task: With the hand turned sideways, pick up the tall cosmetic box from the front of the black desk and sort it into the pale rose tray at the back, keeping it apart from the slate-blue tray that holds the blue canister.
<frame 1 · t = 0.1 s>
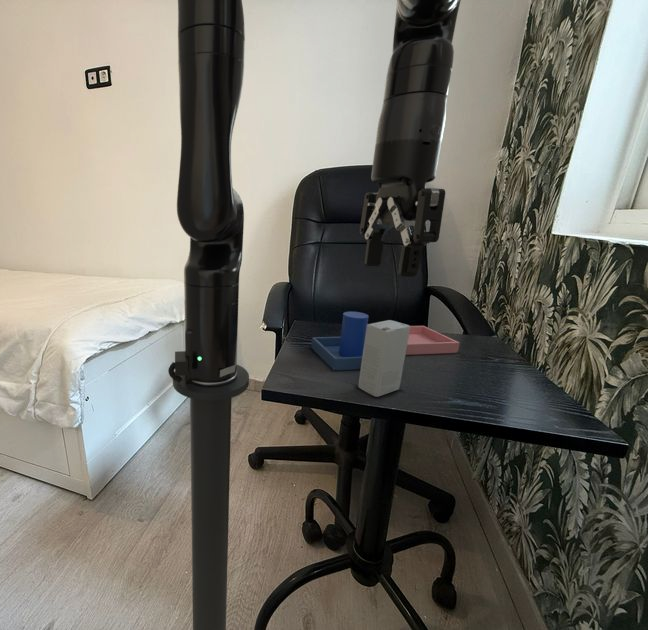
hand: (388, 270, 49), 22 cm above the table, tool pointing down, fingers open, 8 cm apart
cosmetic box: (378, 390, 63), on the table
rose tray: (413, 344, 85), on the table
blue canister: (350, 354, 77), resting on blue tray
blue tray: (350, 357, 77), on the table
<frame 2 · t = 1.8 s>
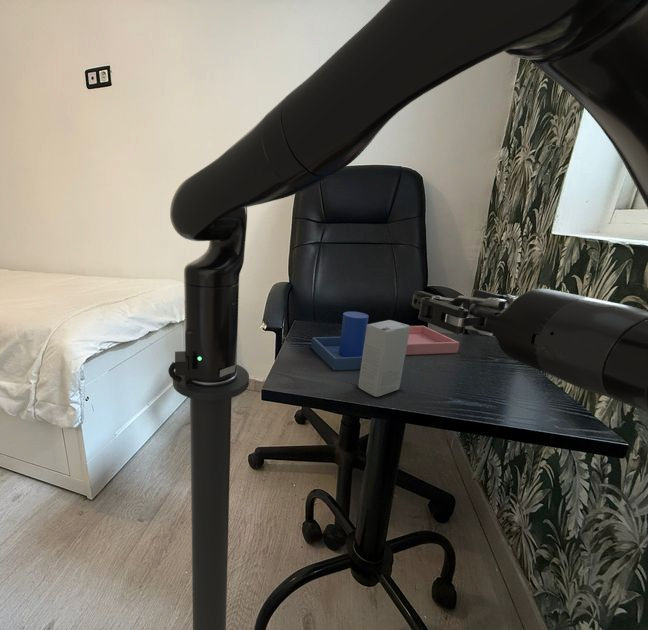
hand: (445, 298, 47), 19 cm above the table, tool horizontal, fingers open, 8 cm apart
nothing on the table moved.
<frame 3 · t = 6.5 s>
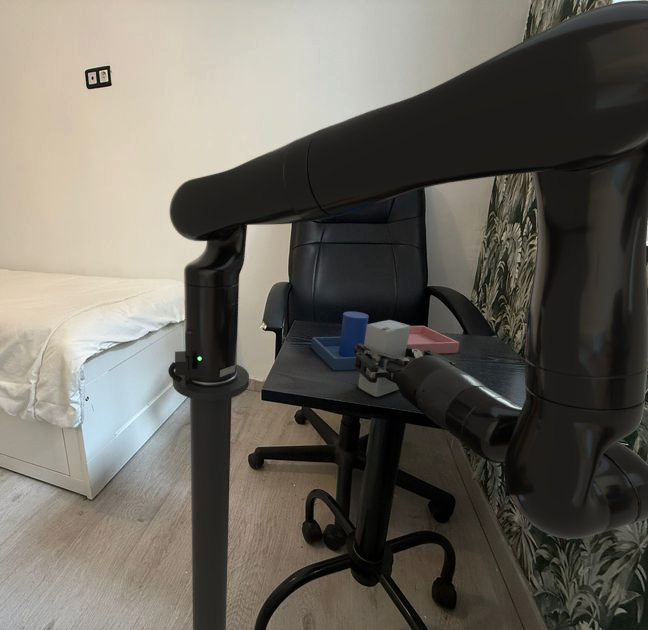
hand: (377, 348, 63), 7 cm above the table, tool horizontal, fingers closed on cosmetic box, 7 cm apart
cosmetic box: (378, 390, 63), on the table, touching gripper
everything else where it was.
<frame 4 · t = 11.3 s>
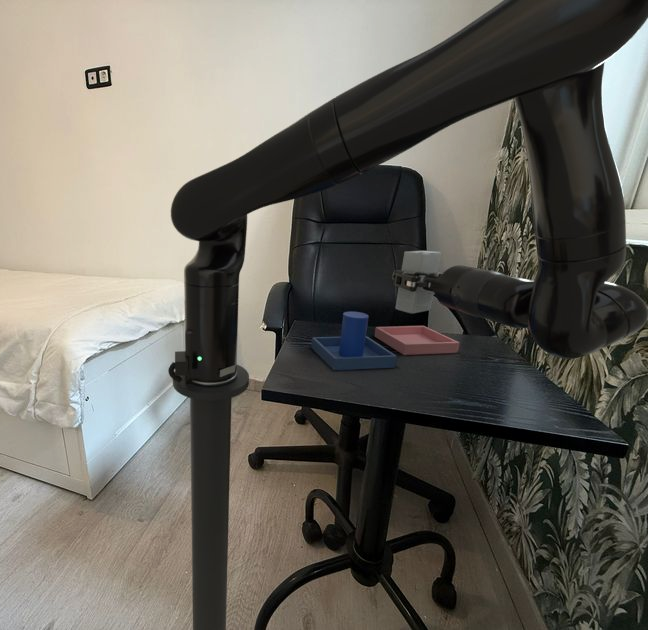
hand: (411, 275, 74), 18 cm above the table, tool horizontal, fingers closed on cosmetic box, 7 cm apart
cosmetic box: (412, 311, 74), point 10 cm above the table, touching gripper
everything else where it was.
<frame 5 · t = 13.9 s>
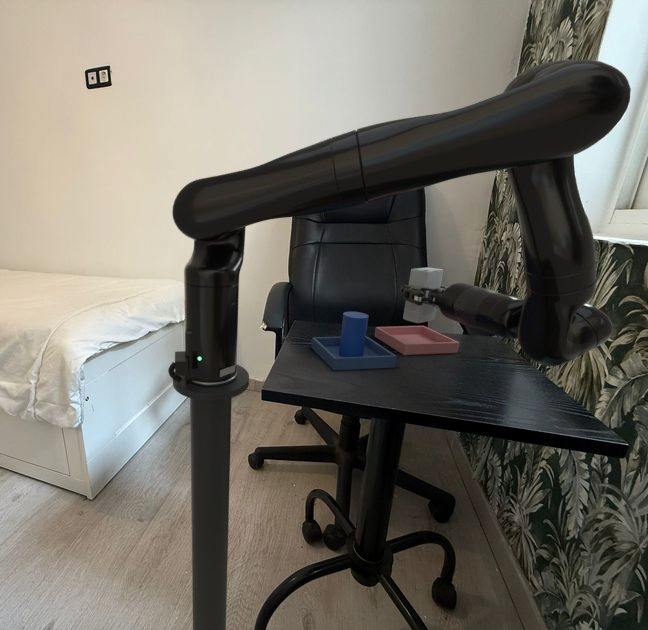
hand: (417, 289, 83), 13 cm above the table, tool horizontal, fingers closed on cosmetic box, 7 cm apart
cosmetic box: (418, 321, 83), point 6 cm above the table, touching gripper
everything else where it was.
when the fingers open (8 cm above the table, at t = 16.1 s): cosmetic box stays where it is, resting on rose tray.
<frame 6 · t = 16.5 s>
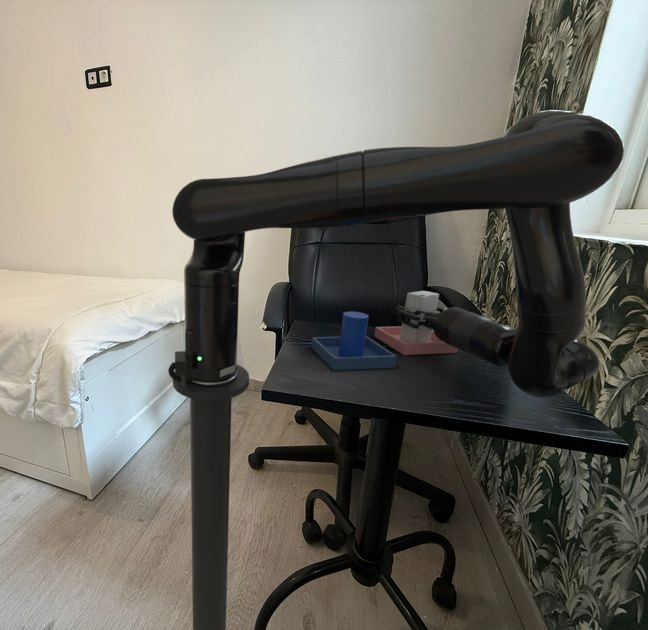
hand: (413, 309, 85), 8 cm above the table, tool horizontal, fingers open, 8 cm apart
cosmetic box: (414, 343, 85), resting on rose tray
everything else where it was.
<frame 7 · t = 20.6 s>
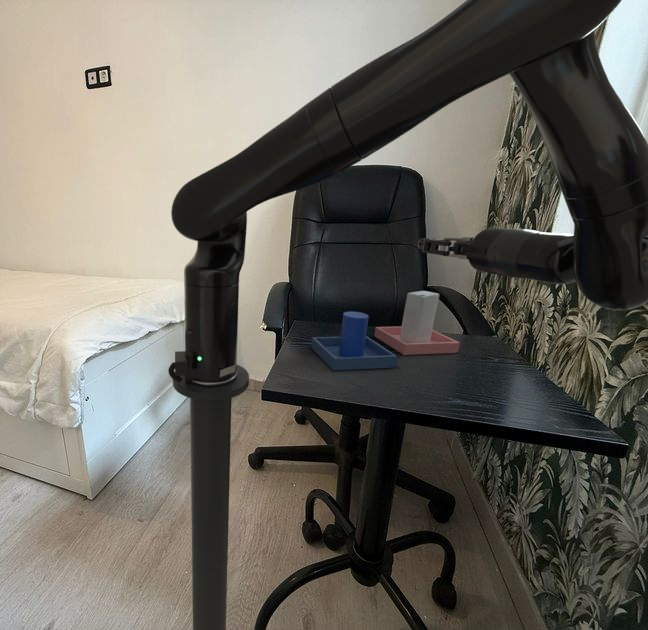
hand: (438, 243, 73), 24 cm above the table, tool horizontal, fingers open, 8 cm apart
nothing on the table moved.
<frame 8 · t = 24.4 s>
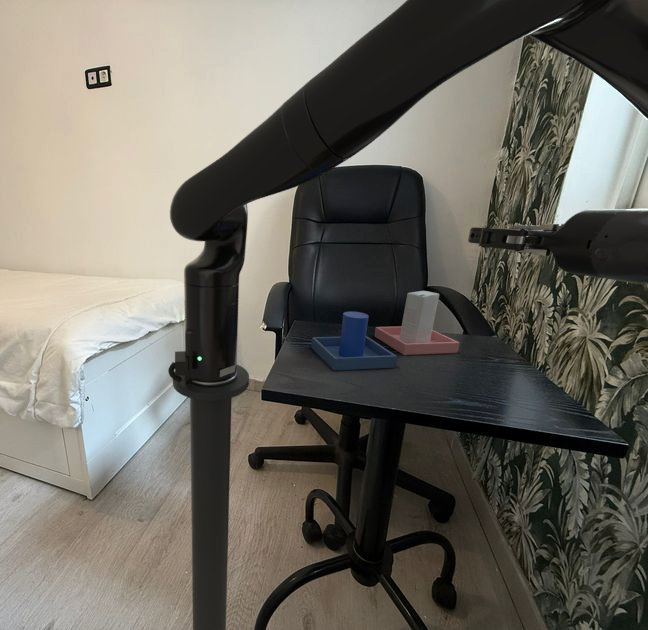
hand: (496, 235, 54), 27 cm above the table, tool horizontal, fingers open, 8 cm apart
nothing on the table moved.
at the end: cosmetic box inside the target area in the rose tray (0.2 cm from its centre), point 0.3 cm above the rose tray's base; cosmetic box tilted 0°; blue canister moved 0.0 cm from its start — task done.
